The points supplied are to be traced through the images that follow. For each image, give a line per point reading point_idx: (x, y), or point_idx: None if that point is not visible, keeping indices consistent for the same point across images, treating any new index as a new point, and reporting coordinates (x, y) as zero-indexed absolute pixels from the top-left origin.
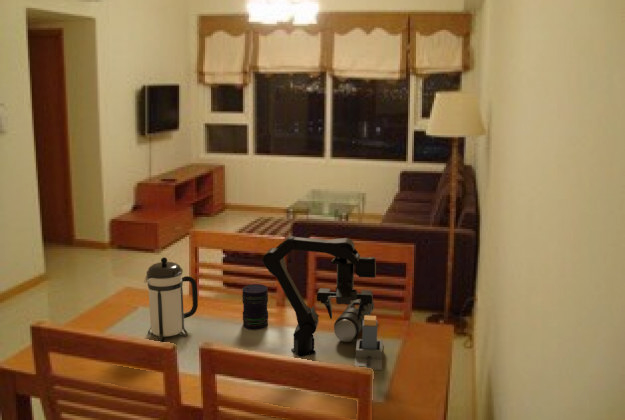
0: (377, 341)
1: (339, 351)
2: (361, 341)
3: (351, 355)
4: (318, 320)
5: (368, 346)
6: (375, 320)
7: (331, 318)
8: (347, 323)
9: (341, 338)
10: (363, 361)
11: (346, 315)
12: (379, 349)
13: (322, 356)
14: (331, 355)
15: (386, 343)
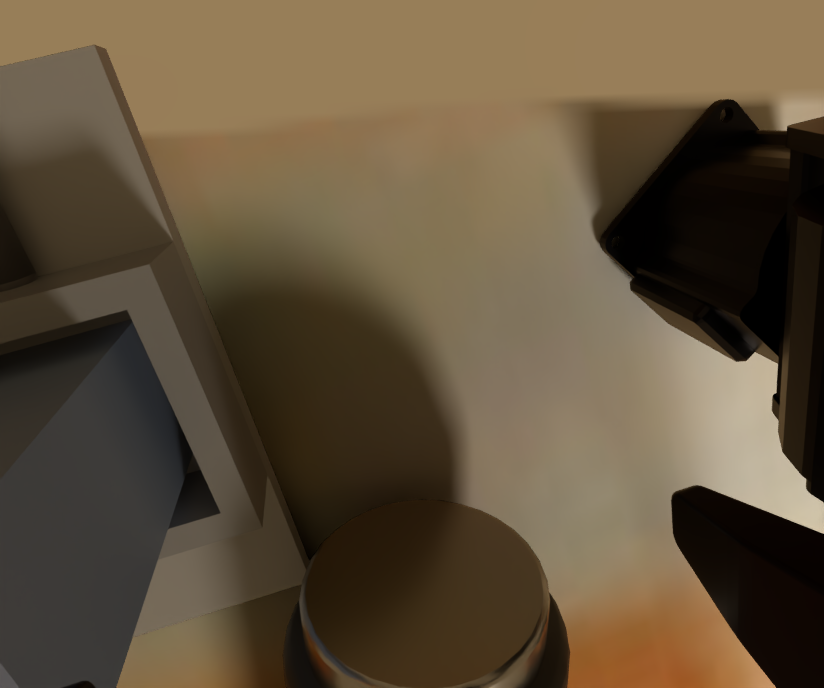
0: None
1: (403, 362)
2: (205, 510)
3: (268, 332)
4: (822, 495)
5: (12, 385)
6: None
7: (685, 498)
8: (413, 667)
9: (439, 513)
10: (50, 197)
11: None
12: None
13: (522, 203)
14: (447, 257)
15: None
